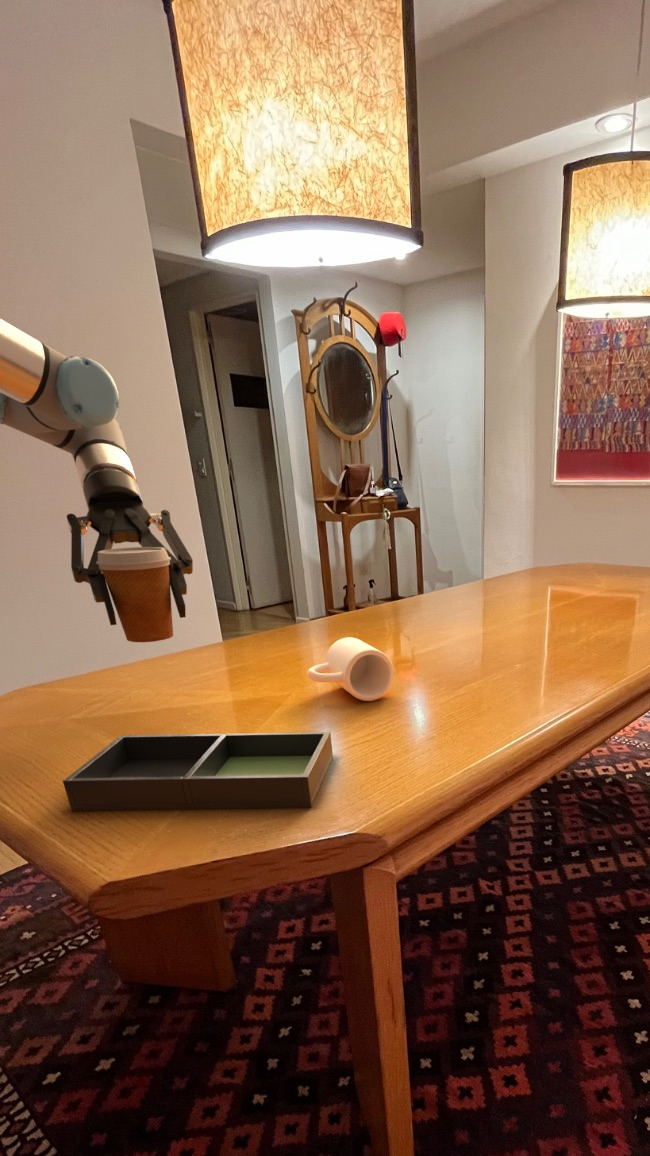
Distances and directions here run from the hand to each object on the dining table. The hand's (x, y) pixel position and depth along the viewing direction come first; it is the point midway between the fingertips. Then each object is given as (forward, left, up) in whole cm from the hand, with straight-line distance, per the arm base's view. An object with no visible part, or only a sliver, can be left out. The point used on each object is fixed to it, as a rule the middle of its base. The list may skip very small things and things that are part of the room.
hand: (148, 615), depth 93 cm
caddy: (+14, -24, -15) cm, 31 cm away
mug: (+25, +9, -15) cm, 31 cm away
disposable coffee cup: (-2, +3, -4) cm, 5 cm away
